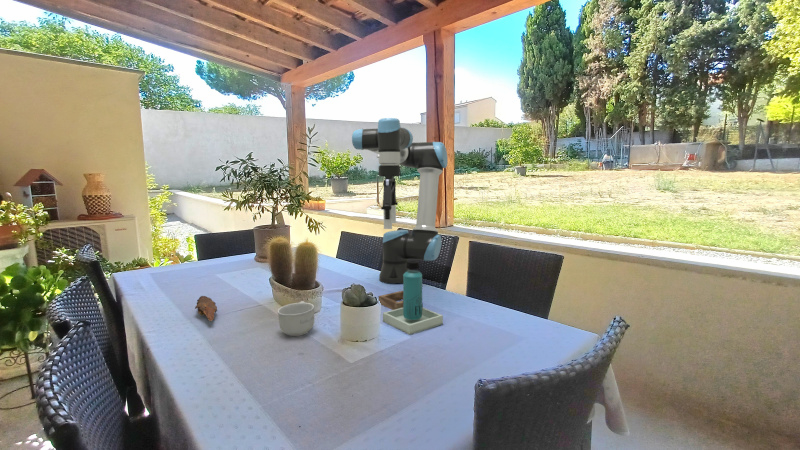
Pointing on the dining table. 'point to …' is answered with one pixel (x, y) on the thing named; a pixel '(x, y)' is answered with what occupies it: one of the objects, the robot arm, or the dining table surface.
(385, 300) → the socket block
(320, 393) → the dining table surface
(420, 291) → the beverage bottle
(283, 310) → the teacup
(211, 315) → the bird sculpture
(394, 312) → the tray
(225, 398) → the dining table surface
